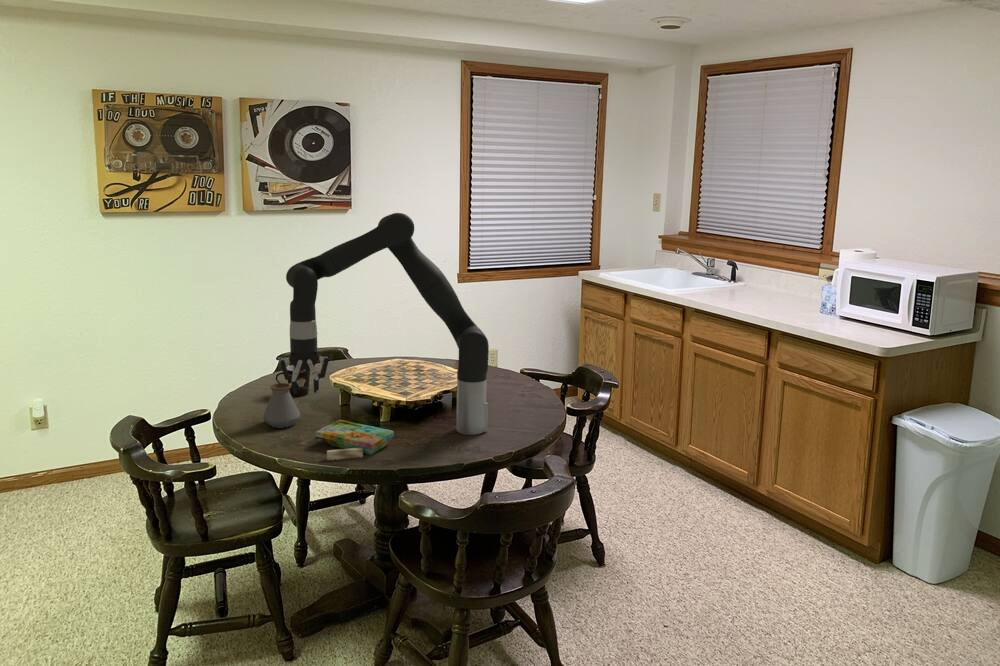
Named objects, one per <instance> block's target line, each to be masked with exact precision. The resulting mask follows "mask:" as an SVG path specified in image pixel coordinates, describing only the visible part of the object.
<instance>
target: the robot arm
mask: <svg viewBox="0 0 1000 666" xmlns="http://www.w3.org/2000/svg"><path fill="white" fill-rule="evenodd" d="M414 233H415V224H414V221H413V220H412V218H411V217H410V216H409V215H407V214H405V213H402V212H394V213H390V214H387V215H385V216H383V217H382V218H380V220H379V221H378V225H377V226H376V227H375V228H372V229H371V230H369V231H367V232H366V233H364V234H362V235H359V236H357V237H355V238H352V239H350V240H347V241H345V242H343V243H340V244H338V245H336V246H333V247H332V248H330V249H329V250H328V249H327V250H326V251H324V252H323V253H321V254H319V255H317V256H314V257H310V258H308V259H305V260H302V261H299V262H298V263H295V264H294V265H292V266H291V267H289V268H288V270H287V272H286V274H285V280H286V282H287V284H288V286H290V287H291V288H292V291H293V292H292V293H293V295H292V300H291V301H290V304H289V317H290V319H289V321H290V322H289V344H290V345H289V347H290V351H289V352H290V353H289V356H288V357H287V358H279V364H280V367H281V371H282V373H283V374H282V375H283V377H284V380H285V381H288V380H290V381H291V383H292V392H294V394H297V381H296V378H297V375H298V373H299V371H302V370H310V373H311V374H312V376H313V378H312V379H313V385H312V386H313V393H314V394H315V393H317V391H319V389H320V387H319V386H320V379H324V378H325V376H326V374H327V369H328V365H329V357H328V356H327V355H324V356H322V355H320V354H319V353H318V327H317V318H316V315H317V314H316V301H317V296H318V289H319V288H318V285H319V284H318V283H319V281H318V280H320V279H323V278H331V277H334V276H336V275H338V274H339V273H341V272H344V271H345V270H347V269H349V268H350V267H352V266H354V265H356V264H358V263H359V262H361V261H363V260H364V259H366V258H369V257H370V256H371V255H373V254H376V253H378V252H380V251H382V250H385V249H387V250H389V251H390V252H391V253H392V255H393V256H394V258H395V259H397V260H398V262H399V264H401V266H402V268H403V269H404V271H405V273H406V274H407V276H408V278H409V279H410V280H411V282H412V283H413V285H414V286H415V288H416V289H417V291H418V293H419V295H420V296H421V297H422V298H423V299H424V302H426V304H427V306H428V307H430V308H431V310H432V311H433V312H434V313H435V314H436V315H437V316H438V317H439V318H440V320H441V321H443V323H444V324H445V325H446V327H447V329H448V331H449V332H450V334H451V335H452V337H453V339H454V342H455V343H456V346H457V349H458V368H457V371H456V381H457V382H456V424H455V425H456V432H458V433H459V434H460V435H461V434H462V435H466V436H476V435H477V434H478V435H481V433H482V434H483V432H484V433H488V416H489V415H488V414H489V412H488V411H489V403H488V402H487V376H488V371H489V353H490V351H489V348H490V347H489V346H490V345H489V340H488V338H487V335H486V334H485V333H484V331H482V330H481V328H480V327H478V325H477V324H476V323H475V321H473V320H472V318H471V317H470V316H469V314H468V313H467V312H466V311H465V309H464V307H463V306H462V305H463V304H462V303H461V301H460V299H459V297H458V295H457V293H456V292H455V290H454V288H453V286H452V285H451V283H450V282H449V280H448V279H447V277H446V276H445V273H443V271H441V269H440V268H439V267H438V266H437V265H436V264H435V263H434V262H433V261H432V260H431V259H430V258H428V257H427V256H426V255H425V254H424V253H423V252H422V251H421V250H420V249H419V247H418V246H417V244H416V242H415V241H414V239H413V238H412V237H413V235H414ZM319 361H320V364H321V369H320V372H319V373H318V372H317V370H316V364H317V363H318V362H319ZM289 362H290V364H292V365H293V366H294V369H293V373H292V375H289V374H288V371H287V368H286V367H288V366H289Z"/></svg>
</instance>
